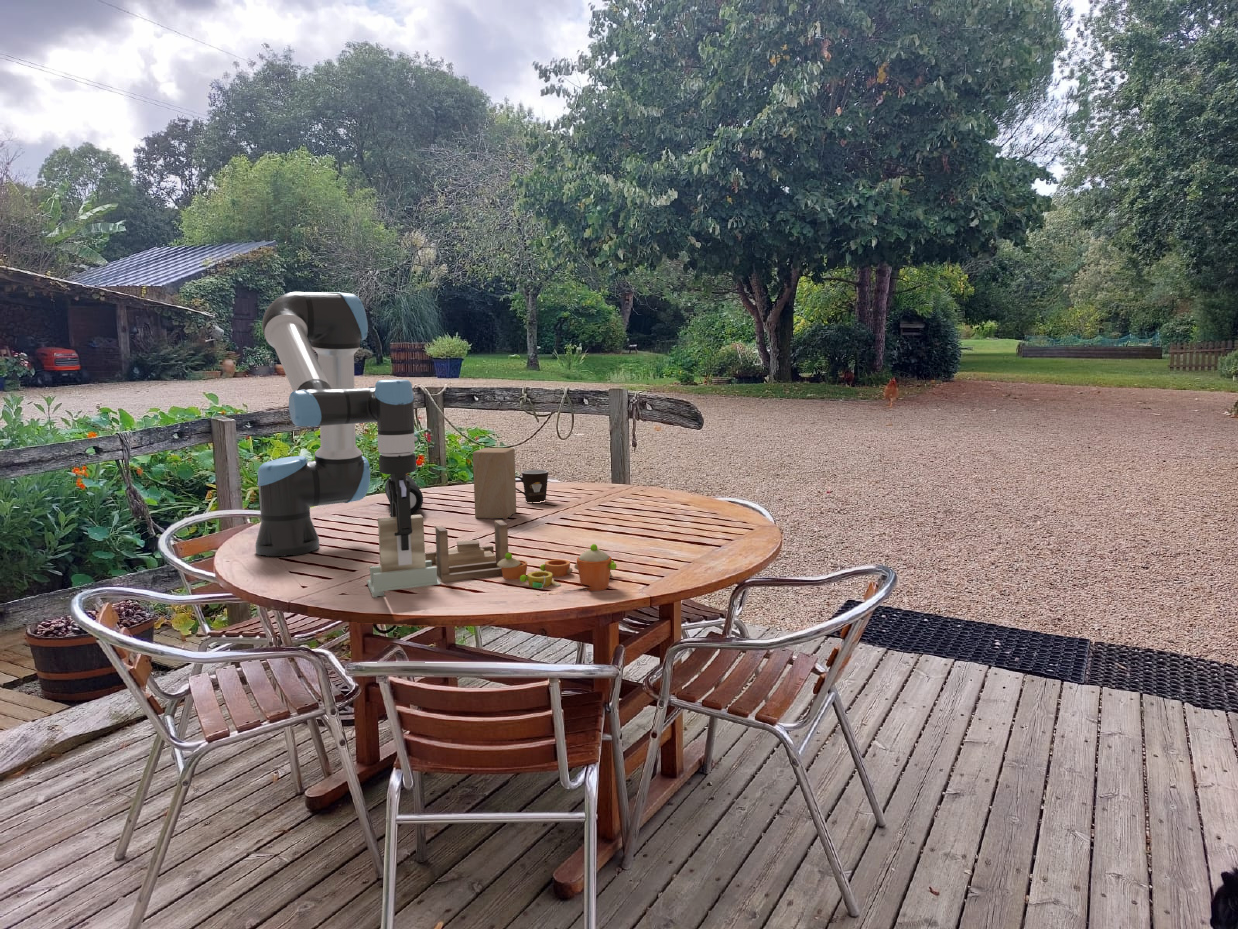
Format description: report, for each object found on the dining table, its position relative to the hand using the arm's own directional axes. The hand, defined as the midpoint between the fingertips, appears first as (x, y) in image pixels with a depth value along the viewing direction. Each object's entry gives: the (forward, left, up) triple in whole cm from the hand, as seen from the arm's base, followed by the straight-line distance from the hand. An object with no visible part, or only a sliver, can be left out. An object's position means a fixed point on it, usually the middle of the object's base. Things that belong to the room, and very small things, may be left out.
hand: (402, 560), depth 178 cm
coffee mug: (-80, +53, -6) cm, 96 cm away
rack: (-5, +15, -6) cm, 17 cm away
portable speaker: (-86, +13, -6) cm, 87 cm away
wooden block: (-64, +37, -6) cm, 74 cm away
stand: (0, 0, -6) cm, 6 cm away
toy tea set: (+12, +31, -6) cm, 34 cm away
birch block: (0, 0, -5) cm, 5 cm away
